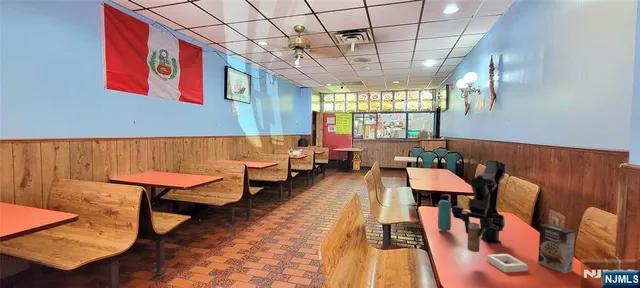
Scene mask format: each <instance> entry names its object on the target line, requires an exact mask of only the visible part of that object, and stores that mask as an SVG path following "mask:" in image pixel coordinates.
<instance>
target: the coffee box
mask: <svg viewBox="0 0 640 288" xmlns="http://www.w3.org/2000/svg"><path fill="white" fill-rule="evenodd" d="M575 238H576V231H575V230H574V229H569V228H566V227H563V226H559V225H555V224H552V223H544V224H540V225H539V240H538V256H537V257H538V260H537V264H539V265H540V266H541V265H542V266H544V267H546V268H548V269H552V270H553V271H557V272H558V273H561V274H567V273H570V272H573V271H572V270H573V269H574V267H573V266H574V264H573V263H574V253H575Z"/></svg>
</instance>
